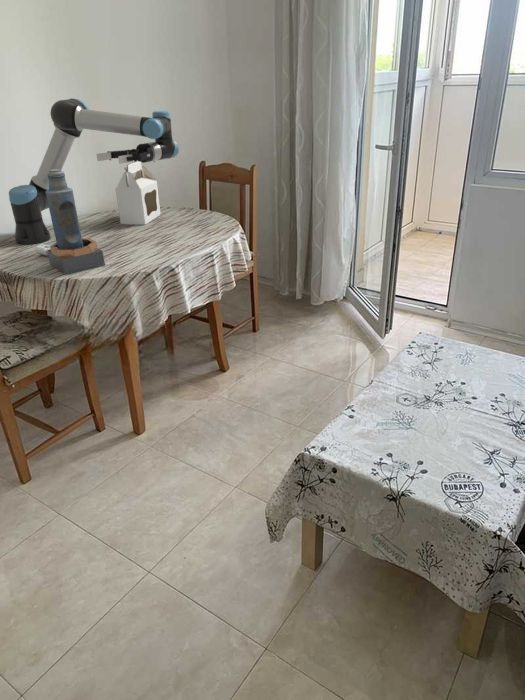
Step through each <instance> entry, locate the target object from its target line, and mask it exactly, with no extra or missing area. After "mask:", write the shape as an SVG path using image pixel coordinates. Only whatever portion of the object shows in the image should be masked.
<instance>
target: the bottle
mask: <svg viewBox="0 0 525 700" xmlns="http://www.w3.org/2000/svg"><path fill="white" fill-rule="evenodd" d="M47 176H48V179H49V190H47V191H46V197H47V201H48V206H49V208H48V210H49V214H50V218H51V223H52V227H53V232H54V233H53V234H54V237H55V243H56V242H57V247H58V248H59V249H76V248H80V247H83V242H82V237H83V236H82V233H81V227H80V221H79V218H78V217H79V216H78V211H77V207H76V206H77V205H76V201H75V196H74V195H75V194H74V191H73V188H72V187H68V183H67V180H66V174H65V171H62V170H60V169H53V170H49V172H48V175H47Z"/></svg>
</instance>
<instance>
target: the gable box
mask: <svg viewBox="0 0 525 700" xmlns="http://www.w3.org/2000/svg"><path fill="white" fill-rule="evenodd" d="M123 169H124V170H125V171H124V172H123V174H122V176H121V178H120V180H119V182H118V183H117V186H116V187H115V196H116V200H117V208H118V215H119V221H120V225H133V224H134V225H135V226H136V225H137V226H140V225H141V226H143V225H144V226H145V225H147V224H148V223H150V222H151V221H153V220H155V219H156V218H157V217H159V216H161V207H160V197H159V191H158V190H159V189H158V182H157V181H158V180H156V178H154V175H152V173H151V172H150V171H149V170H148V169H147V167H146V166H144V165H142V162H139V161H138V160H137V161H136V162H135V161H133V162H132V163H131V162H130V163H129V164H126V166H125V167H124V168H123ZM134 173H135V175H133V174H134Z"/></svg>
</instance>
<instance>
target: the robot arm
mask: <svg viewBox="0 0 525 700" xmlns="http://www.w3.org/2000/svg"><path fill="white" fill-rule="evenodd" d="M50 118H51V121H52V123H53V126H54V128H55V129H54V131H53V134H52V137H51V139H50V140H49V144H48V145H47V149H46V150H45V151H46V152H45V154H44V155H43V158H42V161H41V164H40V166H39V169H38V171H37V173H36V174H35V175H33V176H32V177H31V178H30V181H29V184H23V185H22V184H21V185H18V186H14V187H12V188H10V189H9V191H8V197H9V198H8V199H9V203H10V206H11V210H12V214H13V220H14V222H15V230H14V241H15V243H16V244H19V245H33V244H41V243H45V242H47V241H49V240H51V238H52V237H51V232H50V231H49V229H48V227H47V226H46V224H45V223H44V219H43V214H42V211H45V210H47V209H49V206H48V201H47V197H46V191H47V190H49V179H48V176H47V175H48V172H49V170H53V169H60V170H61V171H62V169H63V167H64V165H65V162H66V161H67V157H68V156H69V153H70V151H71V148H72V146H73V144H74V141H75V140H76V139H78V138H80V136H81V134H82V132H83V130H90V131H91V130H92V131H98V132H106V133H114V134H123V135H129V136H138V137H145V138H148V139H149V140H150V139H151V140H155V141H152V142H151V141H150V142H146V143H139V144H138V145H137V146H136V148H132V149H124V150H112V151H111V150H110V151H106V152H102V153H96V158H97V162H102V161H103V162H104V161H108V160H109V161H112V159H118V164H126V163H131V162H132V163H134V162H136V161H139V162H141V164H142V163H143V164H144V163H145V164H146V163H151V162H153V163H156V161H162V160H169V159H172V158H175V157H177V156H178V154H179V150H180V149H179V145H178V143H177V141H176V140H174V139H173V134H172V133H173V132H172V122H171V121H172V119H171V113H170V111H168V110H154V111H153V112H152V116H151V117H147V116H139V115H133V114H132V115H131V114H122V113H115V112H107V111H101V110H94V109H93V110H91V109H89V107H88V106H87V104H86V103H85V102H84V101H82V100H80V99H78V98H68V99H60V100H57V101H56V102H54V103H53V105H52V106H51V109H50Z"/></svg>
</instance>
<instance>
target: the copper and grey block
mask: <svg viewBox="0 0 525 700" xmlns="http://www.w3.org/2000/svg"><path fill="white" fill-rule="evenodd" d="M82 242H83V247H80V248H76V249H59V248H58V247H57V242H56V241H55V242H54V243H53V244H50V246H49V249H47V250H46V252H47V256H48V261H49V265H50V266H51V267H52V268H54V269H56V270H58V271H59V272H60V273H62V274H63V275H65V276H66V275H70V274H73V273H74V272H75V273H78V272H82V271H86V270H91V269H95V268H100V267H104V266H106V263H105V257H104V251H103V250H102V249H101V248H98V243H97V241H95V240H94V239H92V238H87V237H86V238H85V237H83V238H82Z"/></svg>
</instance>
